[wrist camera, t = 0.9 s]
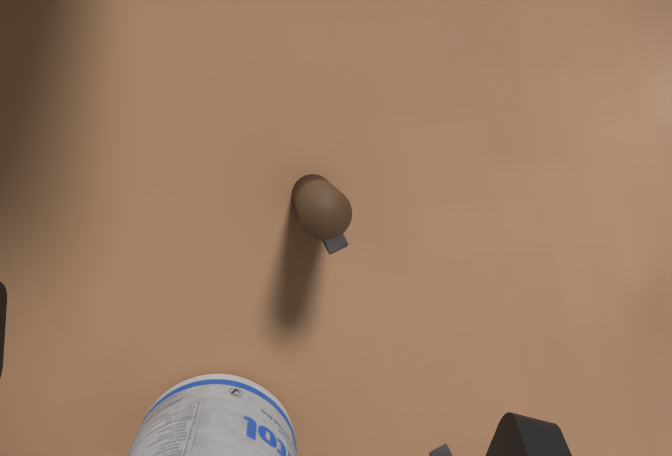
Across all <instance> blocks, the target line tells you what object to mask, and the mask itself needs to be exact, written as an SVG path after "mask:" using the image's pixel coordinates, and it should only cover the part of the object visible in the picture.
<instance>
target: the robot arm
mask: <svg viewBox="0 0 672 456" xmlns="http://www.w3.org/2000/svg"><path fill="white" fill-rule="evenodd" d="M6 306H7V292H6V288H5V286H4V284H2V283H1V282H0V377H1V373H2V368H3V355H4V339H5V322H6ZM486 456H572V455H571V453H570V450H569V448H568V446H567V443H566V441H565V439H564V437H563V434H562V432H561V430H560V428H559V427H558V426H557V425H556V424H554V423H550V422H546V421H542V420H538V419H534V418H530V417H526V416H522V415H518V414H514V413H510V412H508V413H506V414H505V415H504V416H503V417H502V419H501V420H500V422H499V424H498V427H497V429H496V432H495V434H494V437H493V439H492V441H491V444H490V446H489V449H488V451H487V454H486Z"/></svg>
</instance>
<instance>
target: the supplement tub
mask: <svg viewBox="0 0 672 456" xmlns="http://www.w3.org/2000/svg"><path fill="white" fill-rule="evenodd" d="M127 456H297V449H296V438H295V432H294V429H293V425H292V422H291V420H290V417H289V415H288V413H287V412H286V410H285V408H284V407H283V406H282V404H281V403H280V402H279V401H278V399H277V398H276V397H275V396H274V395H272V394H271V393H270V392H269V391H267V390H266V389H265V388H263V387H261V386H260V385H258V384H256V383H254V382H252V381H250V380H248V379H245V378H242V377H239V376H235V375H229V374H207V375H201V376H197V377H193V378H190V379H187V380H185V381H183V382H180V383H179V384H177V385H175V386H173V387H172V388H170V389H169V390H167V391H166V392H165V393H164V394H162V395H161V396H160V397H159V398H158V399H157V400H156V401H155V403H154V404H153V405H152V406H151V408H150V409H149V411H148V412H147V414H146V416H145V418H144V420H143V422H142V424H141V426H140V428H139V430H138V432H137V434H136V437H135V439H134V441H133V443H132V445H131V447H130V449H129V452H128V454H127Z"/></svg>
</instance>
